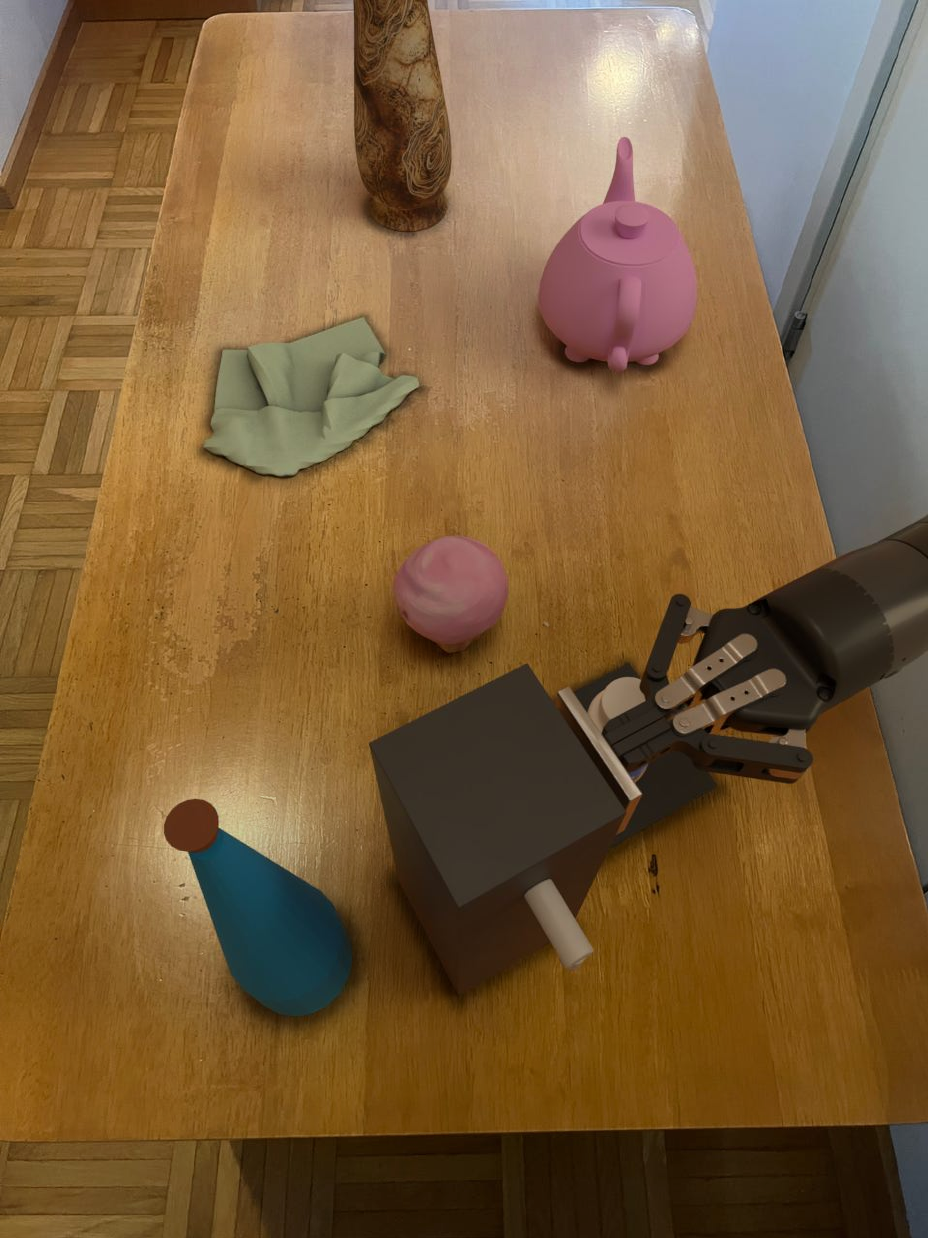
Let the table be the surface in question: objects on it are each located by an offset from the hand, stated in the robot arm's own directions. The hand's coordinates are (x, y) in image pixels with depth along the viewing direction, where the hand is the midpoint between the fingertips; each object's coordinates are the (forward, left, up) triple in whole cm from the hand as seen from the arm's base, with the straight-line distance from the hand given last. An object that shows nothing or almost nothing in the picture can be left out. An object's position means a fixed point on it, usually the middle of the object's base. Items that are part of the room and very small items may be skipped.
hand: (605, 755), depth 51 cm
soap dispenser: (-2, +7, -20) cm, 21 cm away
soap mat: (+5, -7, -20) cm, 22 cm away
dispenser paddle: (0, +1, -3) cm, 3 cm away
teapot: (+45, -34, -20) cm, 60 cm away
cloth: (+51, -3, -20) cm, 55 cm away
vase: (+72, -24, -20) cm, 78 cm away
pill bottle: (+5, -7, -20) cm, 21 cm away
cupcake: (+21, -2, -20) cm, 29 cm away
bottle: (+3, +20, -20) cm, 29 cm away
